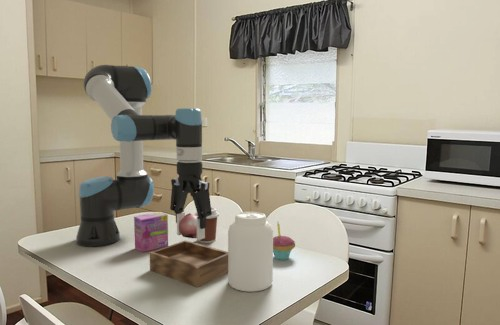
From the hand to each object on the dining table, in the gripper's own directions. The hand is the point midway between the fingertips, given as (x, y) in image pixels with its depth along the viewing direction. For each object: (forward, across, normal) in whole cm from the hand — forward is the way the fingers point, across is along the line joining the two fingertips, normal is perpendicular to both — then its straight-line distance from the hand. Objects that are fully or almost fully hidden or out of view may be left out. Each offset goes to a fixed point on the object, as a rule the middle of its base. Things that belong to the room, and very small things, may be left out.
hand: (190, 236), depth 122 cm
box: (+11, -26, +7) cm, 29 cm away
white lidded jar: (+11, +20, +4) cm, 23 cm away
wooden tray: (+11, 0, 0) cm, 11 cm away
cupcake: (+11, +16, +27) cm, 33 cm away
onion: (+1, 0, 0) cm, 1 cm away
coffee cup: (+11, -16, +25) cm, 31 cm away
